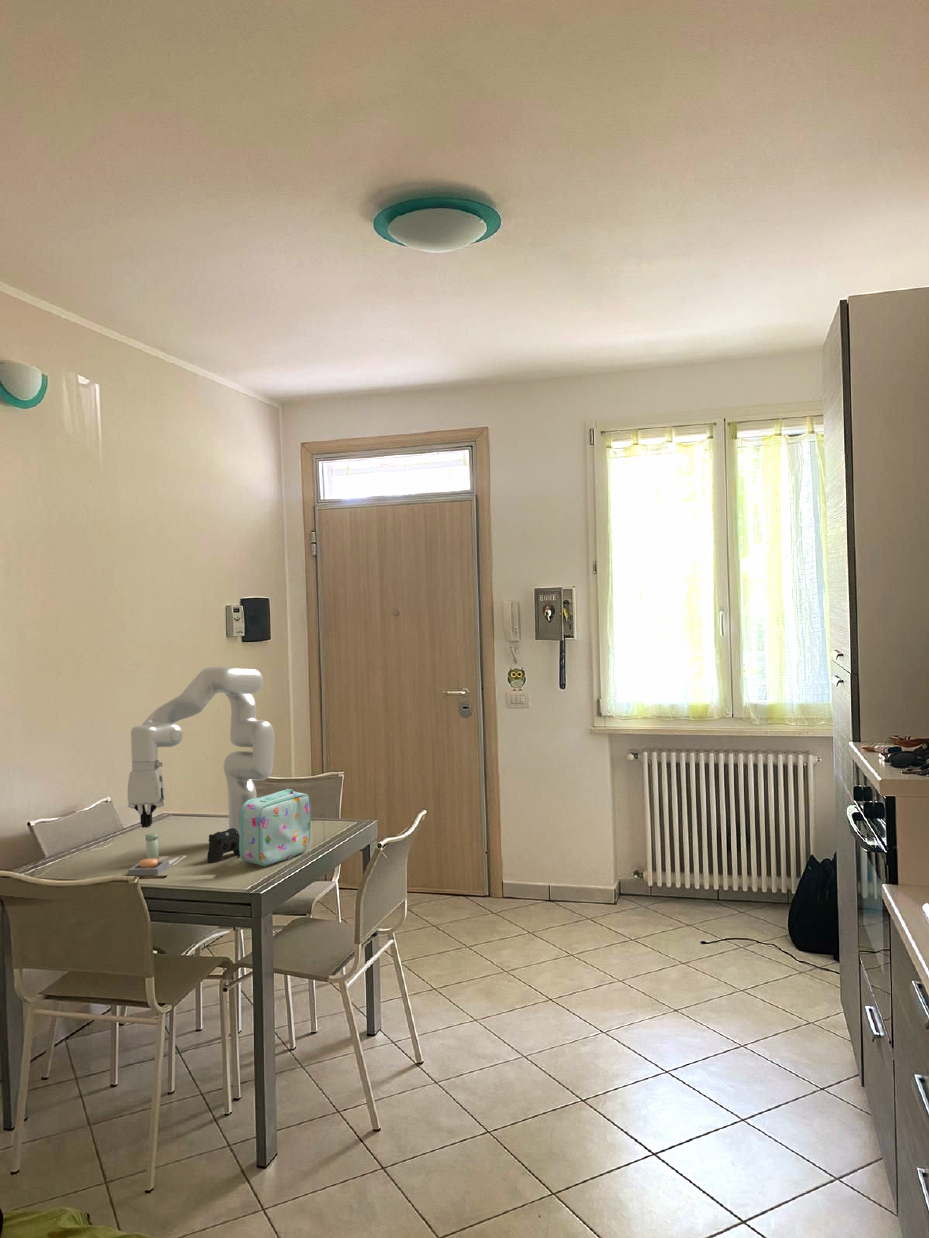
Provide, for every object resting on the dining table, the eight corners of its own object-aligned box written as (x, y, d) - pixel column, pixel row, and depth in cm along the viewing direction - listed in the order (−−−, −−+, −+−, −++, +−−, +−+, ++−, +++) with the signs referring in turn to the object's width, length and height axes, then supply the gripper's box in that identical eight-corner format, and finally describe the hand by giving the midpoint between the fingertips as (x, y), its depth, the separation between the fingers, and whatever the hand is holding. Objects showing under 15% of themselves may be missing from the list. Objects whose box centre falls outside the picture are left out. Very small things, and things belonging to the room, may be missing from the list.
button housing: (169, 866, 289) (168, 861, 289) (158, 874, 280) (157, 868, 280) (140, 867, 290) (140, 861, 290) (128, 875, 281) (128, 869, 281)
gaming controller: (216, 867, 290) (215, 835, 290) (202, 865, 294) (201, 833, 294) (249, 857, 302) (248, 826, 302) (235, 855, 306) (234, 824, 306)
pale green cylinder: (160, 860, 297) (159, 832, 297) (158, 863, 293) (156, 835, 293) (148, 861, 296) (146, 833, 296) (145, 864, 293) (144, 836, 293)
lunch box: (290, 847, 313) (288, 783, 313) (315, 850, 308) (313, 785, 308) (236, 867, 289) (233, 798, 289) (262, 870, 285) (259, 800, 285)
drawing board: (191, 857, 304) (191, 854, 304) (164, 878, 280) (163, 874, 280) (152, 858, 304) (152, 855, 304) (121, 879, 280) (121, 875, 280)
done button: (160, 863, 288) (160, 857, 288) (154, 868, 282) (153, 862, 282) (143, 864, 288) (143, 858, 288) (137, 868, 283) (136, 862, 283)
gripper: (173, 764, 288) (175, 823, 288) (126, 765, 289) (127, 824, 289) (164, 767, 281) (166, 828, 281) (115, 768, 282) (117, 829, 281)
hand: (146, 826), depth 285 cm, fingers closed
